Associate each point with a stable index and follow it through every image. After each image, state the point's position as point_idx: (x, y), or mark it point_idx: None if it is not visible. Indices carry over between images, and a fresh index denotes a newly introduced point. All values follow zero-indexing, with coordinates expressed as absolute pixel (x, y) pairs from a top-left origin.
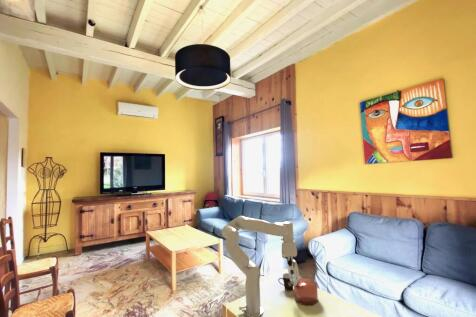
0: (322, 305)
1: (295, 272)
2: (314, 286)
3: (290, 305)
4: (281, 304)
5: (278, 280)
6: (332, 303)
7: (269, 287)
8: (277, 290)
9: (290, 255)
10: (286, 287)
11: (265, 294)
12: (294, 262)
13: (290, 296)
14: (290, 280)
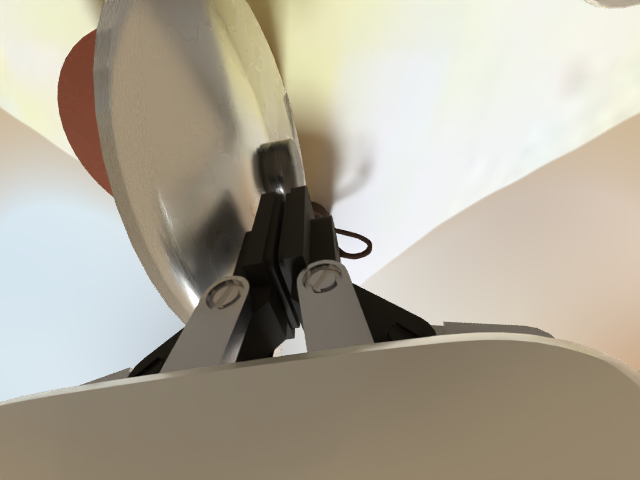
0: (92, 16)
1: (214, 65)
2: (76, 81)
3: (326, 21)
4: (389, 37)
5: (371, 244)
6: (25, 45)
7: (410, 234)
8: (374, 205)
9: (218, 417)
10: (322, 213)
11: (457, 166)
12: (170, 208)
13: (309, 141)
14: (302, 168)
